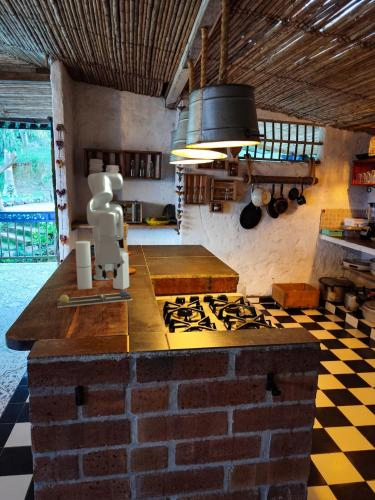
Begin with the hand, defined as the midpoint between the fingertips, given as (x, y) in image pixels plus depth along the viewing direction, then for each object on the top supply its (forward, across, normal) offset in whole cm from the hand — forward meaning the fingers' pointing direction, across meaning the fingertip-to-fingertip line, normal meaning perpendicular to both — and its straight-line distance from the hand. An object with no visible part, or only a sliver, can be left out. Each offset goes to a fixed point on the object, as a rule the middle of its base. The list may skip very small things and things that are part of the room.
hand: (109, 277), depth 162 cm
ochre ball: (+8, +20, 0) cm, 22 cm away
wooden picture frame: (+10, +14, 0) cm, 17 cm away
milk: (+12, -8, -18) cm, 23 cm away
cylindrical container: (+11, +10, -24) cm, 28 cm away
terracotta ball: (-2, 0, 0) cm, 2 cm away
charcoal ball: (+8, -6, 0) cm, 10 cm away
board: (+12, +7, -2) cm, 14 cm away
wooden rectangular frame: (+10, -3, 0) cm, 11 cm away
